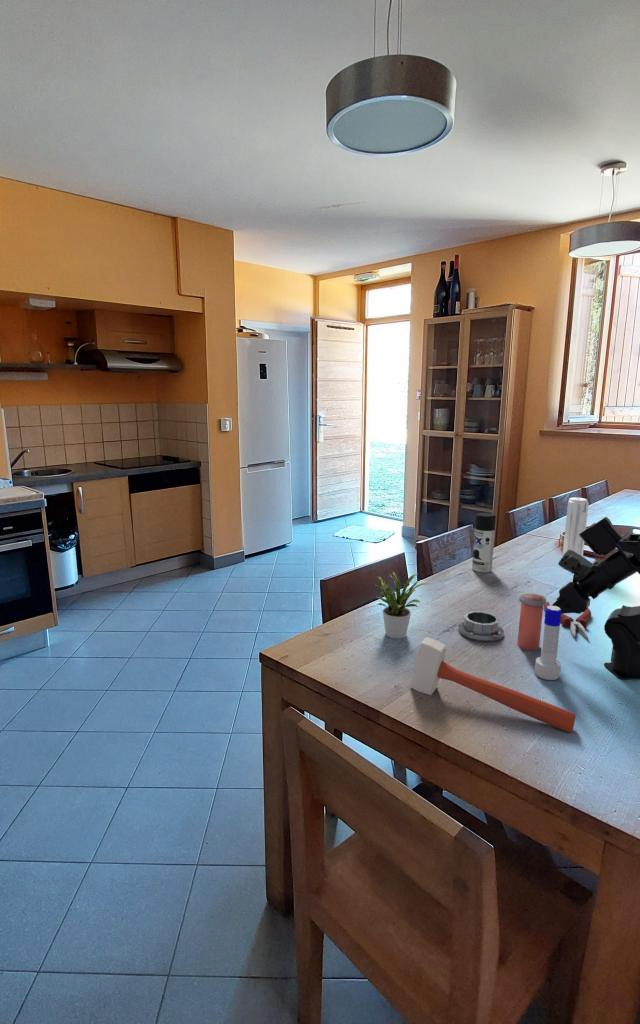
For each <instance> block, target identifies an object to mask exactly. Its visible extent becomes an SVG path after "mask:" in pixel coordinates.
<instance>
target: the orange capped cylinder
mask: <svg viewBox="0 0 640 1024" xmlns="http://www.w3.org/2000/svg"><path fill="white" fill-rule="evenodd" d="M518 597H519V598H518V601H519V602H520V610H519V622H518V630H517V631H518V633H517V643H516V645H517V646H518V647H519V648H521V649H524V650H526V651H527V650H528V651H536V650H539V649H540V645H541V644H540V643H541V635H542V634H541V632H542V623H543V622H542V621H543V612H544V605H545V604H546V602H547V597H546V596H544V595H542V594H538V593H535V592H523V593H520V594H519V596H518Z"/></svg>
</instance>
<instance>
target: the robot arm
mask: <svg viewBox="0 0 640 1024" xmlns="http://www.w3.org/2000/svg"><path fill="white" fill-rule="evenodd" d="M578 535H579V536H580V537H581V538H582V539H583V541H584V544H586V546H588V547H589V549H590V550H591V551H592V552H593V553H594V554H595V555H598V556H601V555H602V556H603V557H604V556H606V555H608V554H610V553H611V552H613V551H614V550H616V549H617V550H616V551H615V552H613V553H612V554H610V555H608V556H606V557H605V558H604V559H602V560H599V561H598V560H596V561H594V562H591V561H590V560H588V559H587V558H585V556H583V557H582V556H581V555H579V554H577V553H576V552H574V551H572V550H568V551H567V552H566V553H565V554H564V556H563V555H562V556H563V557H562V556H561V558H560V560H559V562H558V566H559V567H561V568H563V569H565V570H567V571H569V572H570V573H572V574H573V575H572V581H570V582H567V583H566V584H565V585H564V586H562V587H561V588H560V589H558V594H559V596H558V597H556V600H555V601H554V602H553V603H552V604H550V606H557V607H559V608H560V609H561V610H562V611H561V614H578V615H581V614H583V612H584V611H585V610H587V608H589V607H590V605H591V599H590V597H591V598H592V600H595V599H597V598H598V597H599V595H600V594H603V593H604V592H605V591H608V590H612V589H614V588H615V586H616V585H618V584H620V583H621V582H622V581H624V580H627V579H628V578H630V577H631V576H633V575H635V574H636V573H638V574H639V575H640V533H624V534H623V535H622V533H621V532H620V530H618V529H617V527H615V526H614V525H613V523H612V521H611V520H610V518H609V517H608V516H604V517H603V518H602V519H600V520H599V521H597V522H593V523H592V524H591V525H589V526H588V527H586V529H585V530H584V531H582V532H581V533H580V534H578ZM603 630H604V632H605V635H606V637H608V638H609V639H610V641H611V645H612V649H611V656H610V662H603V663H604V664H603V665H604V666H605V668H607V669H608V670H609V671H610V672H611V673H613V675H615V676H616V677H617V678H618V679H620V680H633V679H634V680H640V605H636V606H627V605H624V604H623V605H622V606H621V607H620V608H616V609H614V610H613V611H612V612H610V614H609V616H608V617H607V620H606V621H605V624H604V628H603Z"/></svg>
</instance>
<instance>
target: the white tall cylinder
mask: <svg viewBox="0 0 640 1024" xmlns="http://www.w3.org/2000/svg"><path fill="white" fill-rule="evenodd" d="M589 505H590V503H589V501H588V499H587V498H583V497H569V499H568V500H567V509H566V518H565V519H566V520H565V529H564V538H563V545H562V546H563V547H562V548H563V549H562V556H561V558H562V557H563V556H564V554H565V553H566V552H567V551H568V550H572V551H574V552H576V553H577V554H579V555H581V556H582V557H584V549H585V542H584V541H583V539H582V538H581V537H580V536H579V535H578V534H580V533H581V532H582V531H584V530H585V529H586V528H587V522H588V521H587V520H588V511H589Z"/></svg>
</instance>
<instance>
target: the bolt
mask: <svg viewBox="0 0 640 1024" xmlns="http://www.w3.org/2000/svg"><path fill="white" fill-rule="evenodd" d="M561 611H562V610H561V609H560V608H559V607H557V606H551V605H550V606H547V607H546V609H545V610H544V622H543V630H542V640H541V642H542V643H541V651H540V656H538V657H536V658H535V663H534V665H535V666H534V673H535V675H536V676H537V677H539V678H540V679H542V680H545V681H546V680H547V681H556V680H558V679H559V678H560V675H561V661H559V660H558V659H557V658H558V657H557V656H558V647H559V636H560V627H561V622H560V619H561Z"/></svg>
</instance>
